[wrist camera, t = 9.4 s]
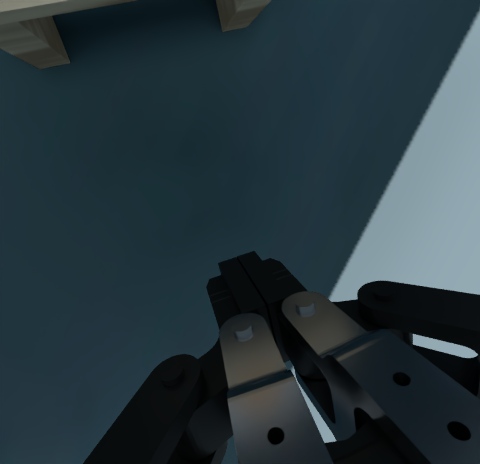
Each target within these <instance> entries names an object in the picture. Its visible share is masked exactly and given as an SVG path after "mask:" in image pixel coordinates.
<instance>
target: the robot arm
mask: <svg viewBox="0 0 480 464" xmlns="http://www.w3.org/2000/svg"><path fill="white" fill-rule="evenodd" d="M218 265H219V269H220V272H221V275H220V276H217V277H214V278H211V279H209V282H208V284H207V287H206V288H207V291H208V295H209V298H210V301H211V304H212V307H213V310H214V314H215V317H216V320H217V323H218V326H219V330H220V331H219V338H218V341H217V342H216V344H215V345H214V347H213V348H212V349H211V350H210V351H208V352H207V353H206V354H205V355H203V356H202V357H200V358H199V359H196V358H195V357H193V356H191V355H186V354H182V355H176V356H173V357H170V358H168V359H166V360H165V361H163V362H162V363H160V364H159V365H158V366H157V367H156V368H155V369H154V370H153V371H152V372H151V374H150V375H149V376H148V378H147V379H146V380H145V382H144V383H143V384H142V386H141V387H140V388H139V390H138V391H137V392H136V394H135V395H134V396H133V398H132V399H131V400H130V402H129V403H128V404H127V406H126V407H125V408H124V410H123V411H122V412H121V414H120V415H119V416H118V418H117V419H116V420H115V422H114V423H113V424H112V426H111V427H110V428H109V430H108V431H107V432H106V434H105V435H104V436H103V438H102V439H101V440H100V442H99V443H98V444H97V446H96V447H95V448H94V450H93V451H92V452H91V454H90V455H89V456H88V458H87V459H86V460H85V462H84V463H83V464H221V462H222V460H223V457H224V455H225V452H226V449H227V440H228V439H229V438H230V437H231V436H232V435H234V441H235V447H236V452H237V458H238V464H480V295H477V294H469V293H463V292H457V291H450V290H444V289H437V288H430V287H424V286H417V285H410V284H404V283H397V282H391V281H375V282H370V283H367V284H365V285H363V286H362V287H361V288H360V289H359V290H358V294H357V295H358V299H357V300H349V301H342V302H331V301H330V300H329V299H327V298H326V297H325V296H324V295H322V294H320V293H317V292H311V291H307V290H306V289H305V288H304V287H303V285H302V284H301V283H300V282H299V281H298V280H297V279H296V278H295V277H294V276H293V275H291V273H290V272H289V271H288V269H286V267H285V266H284V265H283V264H282V263H281V262H280V261H277V260H274V259H272V258H269V259H266V260H263V261H262V260H261V259H260V257H259V256H258V255H257V254H256V252H255V251H252V252H249V253H246V254H243V255H240V256H237V258H236V257H235V258H232V259H229V260H226V261H223V262H220V263H218ZM413 334H416V335H421V336H425V337H429V338H433V339H437V340H441V341H446V342H450V343H454V344H458V345H462V346H466V347H468V348H471V349H472V350H474V351H475V352H476V353H477V354H478V356H476V357H474V358H462V357H459V356H455V355H451V354H447V353H443V352H439V351H435V350H432V349H428V348H424V347H420V346H416V345H413ZM289 360H290V361H291V362H292V364H293V366H294V369H295V374H296V378H297V381H298V382H299V384H300V385H301V387H302V389H303V390H304V392H305V393H306V394H307V396H308V397H309V399H310V400H311V402H312V403H313V405H314V406H315V408H316V409H317V411H318V412H319V414H320V415H321V417H322V418H323V420H324V421H325V423H326V424H327V426H328V427H329V429H330V430H331V432H332V433H333V435H334V437H335V439H336V440H337V441H335V442H329V443H324V441H323V439H322V437H321V435H320V433H319V430H318V428H317V426H316V424H315V421H314V419H313V417H312V415H311V412H310V410H309V408H308V406H307V404H306V402H305V399H304V397H303V395H302V393H301V390H300V388H299V386H298V384H297V382H296V379H295V377H294V375H293V373H292V372H291V370H288V371H287V369H286V366H285V364H284V362H287V361H289Z"/></svg>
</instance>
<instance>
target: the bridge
mask: <svg viewBox="0 0 480 464" xmlns="http://www.w3.org/2000/svg"><path fill="white" fill-rule="evenodd" d="M131 1H137V0H0V49H2V50H4V51H6V52H8V53H10V54H12V55H14V56H15V57H17V58H19V59H21V60H23V61H25V62H27V63H29V64H31V65H33V66H35V67H37V68H39V69H44V68H48V67H53V66H58V65H63V64H68V63H70V60H69V58H68V55H67V53H66V50H65V48H64V45H63V43H62V40H61V38H60V35H59V33H58V30H57V27H56V25H55V22H54V20H53V17H52V15H58V14H64V13H69V12H75V11H81V10H86V9H92V8H98V7H103V6H109V5H115V4H120V3H126V2H131ZM270 1H271V0H216V4H217V8H218V13H219V18H220V22H221V27H222V32H225V31H230V30H235V29H240V28H245V27H248V26H249V25H250V24H251V22H252V21H253V20H254V19H255V18H256V17H257V16H258V15H259V13H260V12H261V11H262V10H263V9H264V8H265V7H266V6H267V4H268V3H269V2H270Z"/></svg>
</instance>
